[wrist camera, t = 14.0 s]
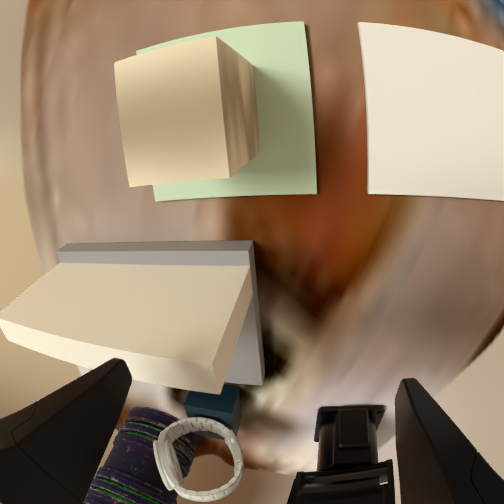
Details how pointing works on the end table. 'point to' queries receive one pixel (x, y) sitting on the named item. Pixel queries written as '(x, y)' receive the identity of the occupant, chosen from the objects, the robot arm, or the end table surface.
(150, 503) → the storage jar
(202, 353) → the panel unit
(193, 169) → the block
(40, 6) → the end table surface
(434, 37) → the cream mat
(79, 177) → the end table surface
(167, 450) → the watch
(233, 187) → the sage mat
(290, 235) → the end table surface
